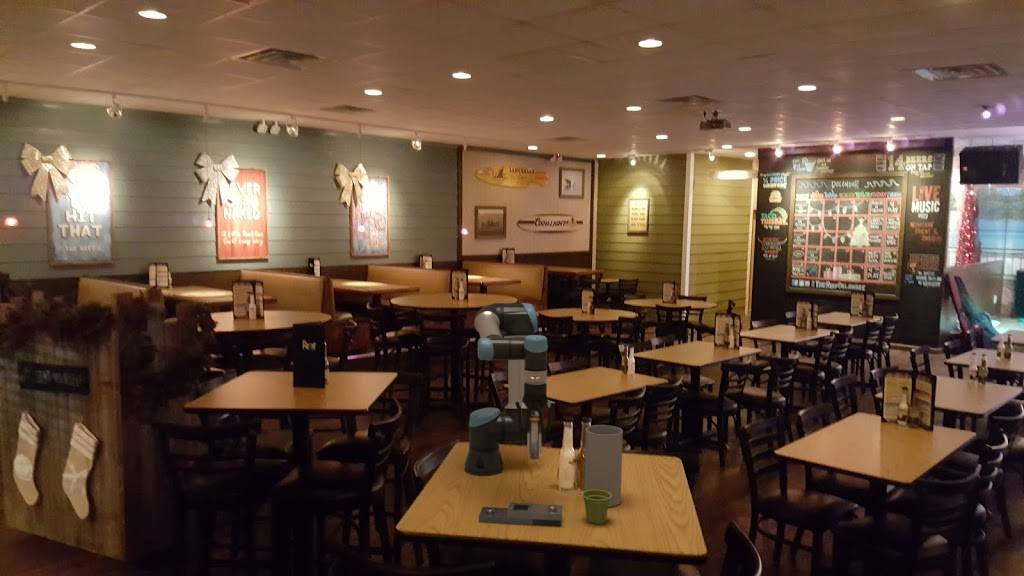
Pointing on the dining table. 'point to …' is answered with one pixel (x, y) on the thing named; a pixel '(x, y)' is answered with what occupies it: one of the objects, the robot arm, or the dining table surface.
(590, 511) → the plant pot
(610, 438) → the cylinder vase
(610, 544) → the dining table surface
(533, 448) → the pin
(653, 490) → the dining table surface
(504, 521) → the stand base plate
